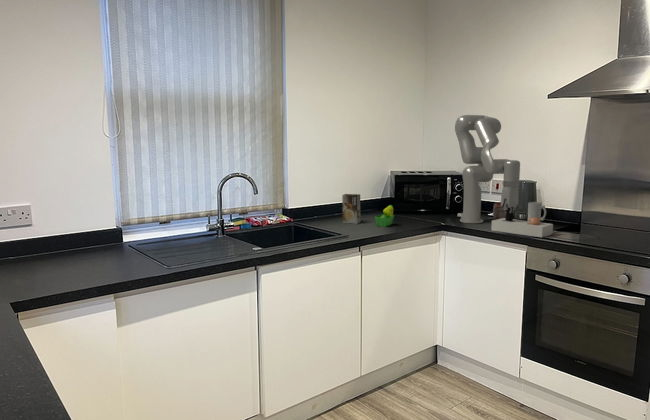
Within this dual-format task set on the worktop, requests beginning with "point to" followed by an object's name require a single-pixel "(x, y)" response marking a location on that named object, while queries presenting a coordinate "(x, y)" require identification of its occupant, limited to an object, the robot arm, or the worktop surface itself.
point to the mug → (536, 210)
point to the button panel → (522, 227)
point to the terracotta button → (534, 220)
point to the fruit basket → (385, 217)
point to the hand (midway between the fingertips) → (509, 220)
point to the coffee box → (351, 208)
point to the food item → (498, 211)
